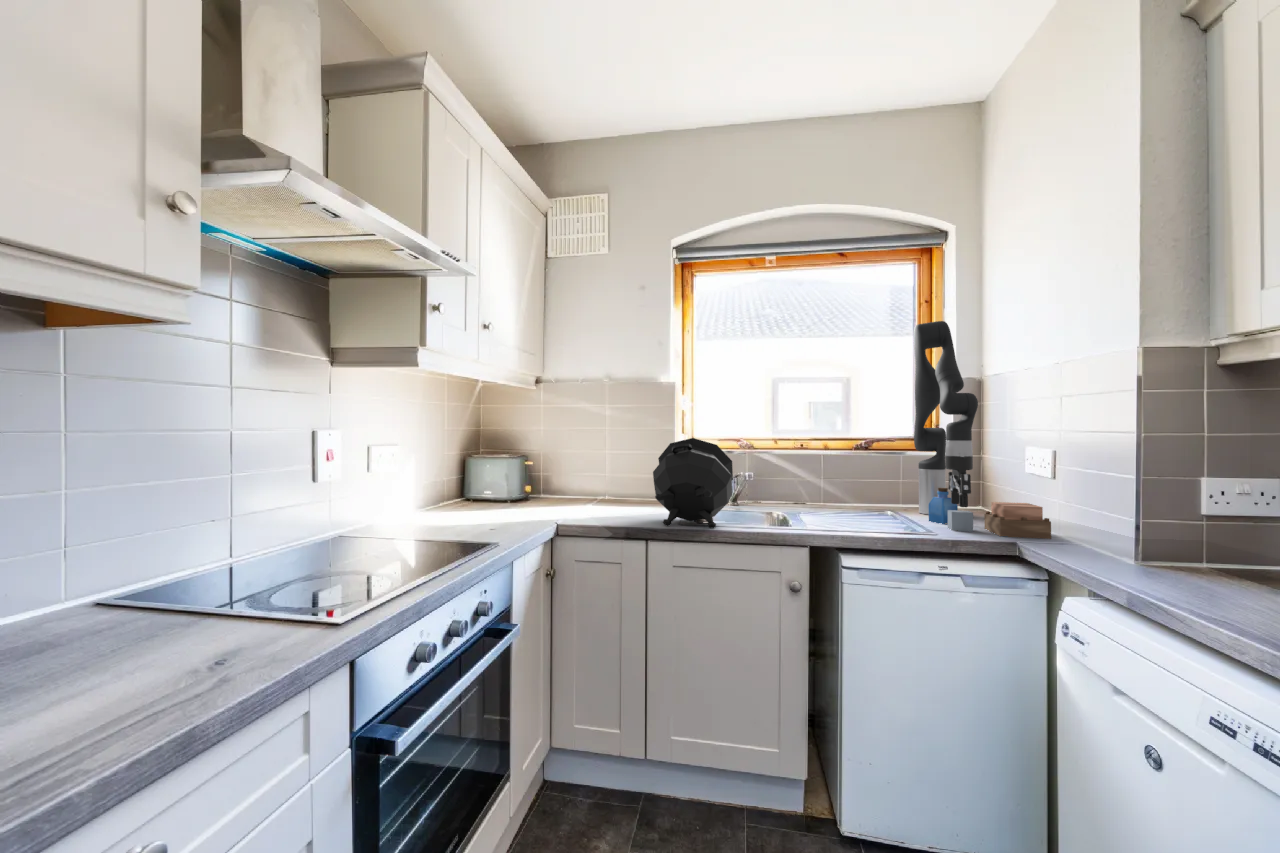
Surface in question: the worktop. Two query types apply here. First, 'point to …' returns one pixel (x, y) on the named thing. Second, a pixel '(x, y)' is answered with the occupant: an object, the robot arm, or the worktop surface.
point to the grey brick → (960, 520)
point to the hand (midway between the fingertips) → (959, 505)
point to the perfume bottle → (941, 507)
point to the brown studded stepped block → (1017, 520)
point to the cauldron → (693, 480)
